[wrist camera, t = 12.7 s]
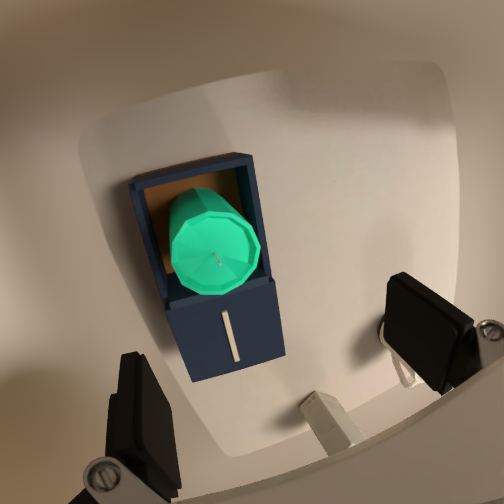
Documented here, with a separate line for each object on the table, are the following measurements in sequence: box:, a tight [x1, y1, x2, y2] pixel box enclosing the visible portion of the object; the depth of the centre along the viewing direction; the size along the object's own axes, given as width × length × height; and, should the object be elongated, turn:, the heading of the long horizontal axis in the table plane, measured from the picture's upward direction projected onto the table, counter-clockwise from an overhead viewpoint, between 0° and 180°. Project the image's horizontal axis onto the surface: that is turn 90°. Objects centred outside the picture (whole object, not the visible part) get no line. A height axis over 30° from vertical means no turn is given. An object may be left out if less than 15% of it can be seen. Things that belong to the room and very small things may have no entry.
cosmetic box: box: [299, 391, 367, 456], centre depth 41 cm, size 6×4×12 cm
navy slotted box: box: [128, 152, 286, 382], centre depth 30 cm, size 20×10×8 cm, turn 10°
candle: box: [169, 187, 261, 295], centre depth 24 cm, size 6×6×12 cm
